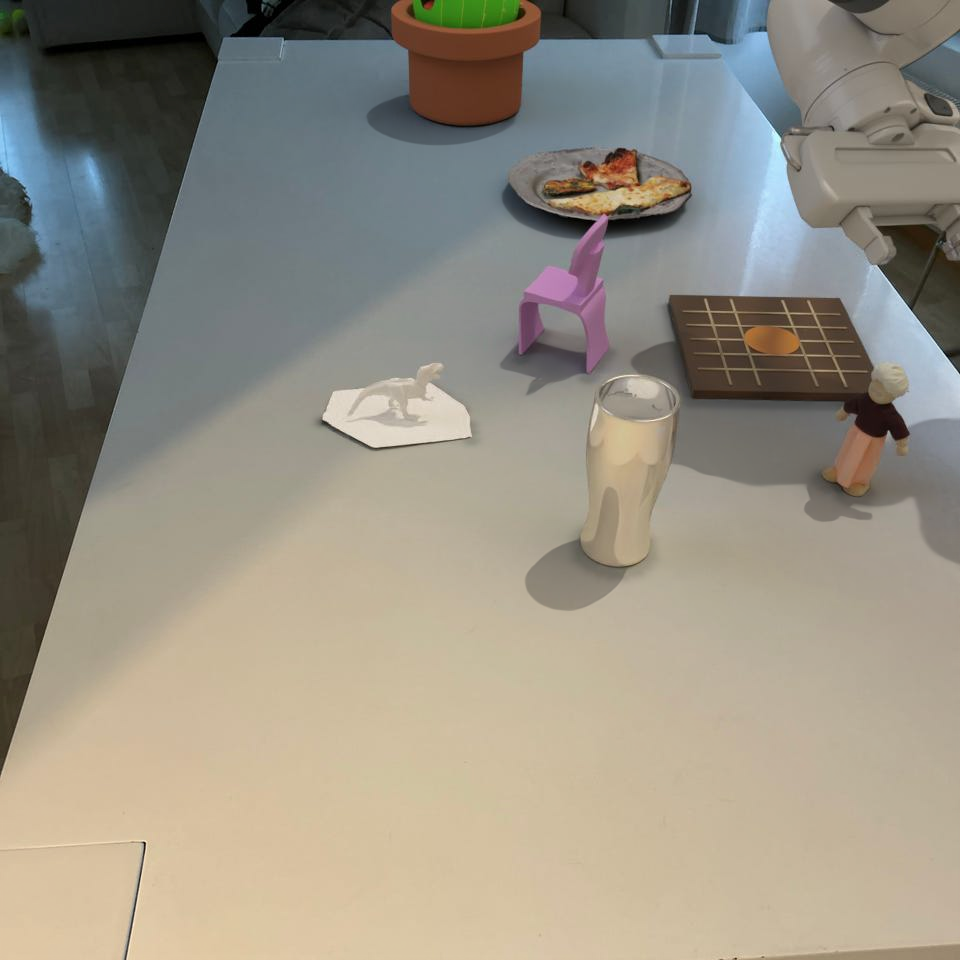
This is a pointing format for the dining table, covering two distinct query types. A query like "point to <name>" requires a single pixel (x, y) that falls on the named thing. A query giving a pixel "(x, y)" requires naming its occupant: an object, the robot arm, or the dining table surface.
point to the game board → (770, 348)
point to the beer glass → (627, 464)
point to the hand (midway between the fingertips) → (924, 258)
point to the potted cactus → (465, 56)
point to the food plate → (600, 183)
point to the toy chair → (571, 295)
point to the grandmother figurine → (870, 429)
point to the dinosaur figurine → (399, 411)
